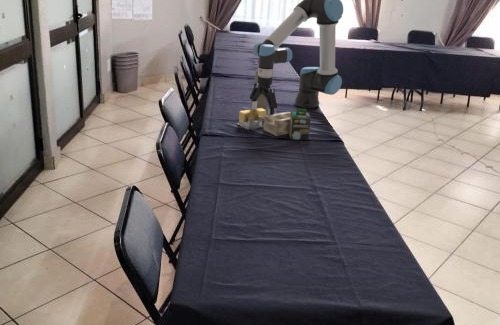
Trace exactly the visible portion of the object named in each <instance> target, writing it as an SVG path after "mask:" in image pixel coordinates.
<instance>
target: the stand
mask: <svg viewBox="0 0 500 325" xmlns="http://www.w3.org/2000/svg"><path fill="white" fill-rule="evenodd" d="M237 124H238V125H240V126H241V128H242V127H243V128H242V129H244V128H245V129H244V130H246V129H247V130H246V131H250V130H249V129H251V130H255V129H260V128H264V124H263V119H262V116H258V117H257V120H255V121H253V118H252V117H248V122H242V121H240V120H239V119H238V122H237V123H236V125H237ZM238 125H237V126H238ZM240 126H239V127H240Z"/></svg>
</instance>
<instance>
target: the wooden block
mask: <svg viewBox="0 0 500 325" xmlns="http://www.w3.org/2000/svg"><path fill="white" fill-rule="evenodd" d="M238 112H239V113H238V121H239V120H240V121H242V122H248V117H252V118H253V121H255V120H257V117H258V116H262V120H264V118H265V116H266V115H267V109H266V110H265V109H262V108H258V109H252V108H251V109H245V110H239V111H238Z"/></svg>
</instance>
